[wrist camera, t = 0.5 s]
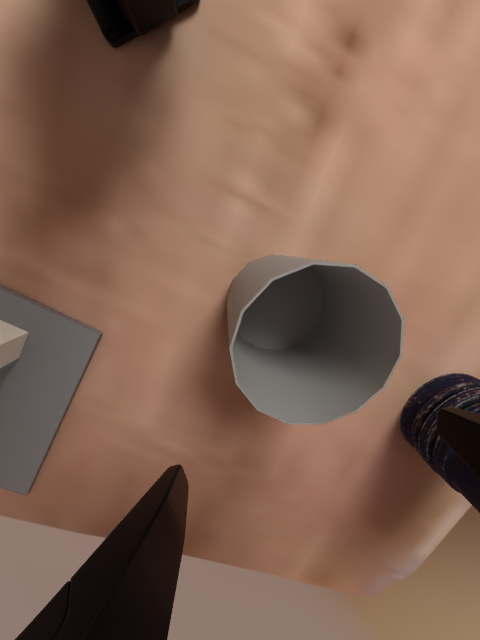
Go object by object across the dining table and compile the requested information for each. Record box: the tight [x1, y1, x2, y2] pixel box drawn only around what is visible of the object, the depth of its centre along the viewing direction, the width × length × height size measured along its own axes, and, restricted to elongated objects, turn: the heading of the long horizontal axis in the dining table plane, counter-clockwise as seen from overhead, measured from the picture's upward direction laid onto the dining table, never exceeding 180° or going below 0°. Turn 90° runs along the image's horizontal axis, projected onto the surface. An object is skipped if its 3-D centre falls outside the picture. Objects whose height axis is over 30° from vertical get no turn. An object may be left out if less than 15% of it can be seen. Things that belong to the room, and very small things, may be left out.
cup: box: [227, 255, 404, 425], centre depth 16 cm, size 8×8×10 cm
